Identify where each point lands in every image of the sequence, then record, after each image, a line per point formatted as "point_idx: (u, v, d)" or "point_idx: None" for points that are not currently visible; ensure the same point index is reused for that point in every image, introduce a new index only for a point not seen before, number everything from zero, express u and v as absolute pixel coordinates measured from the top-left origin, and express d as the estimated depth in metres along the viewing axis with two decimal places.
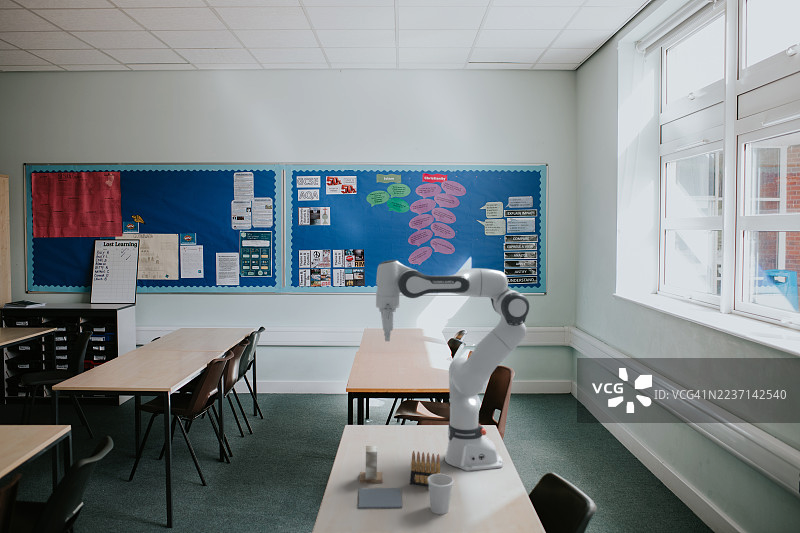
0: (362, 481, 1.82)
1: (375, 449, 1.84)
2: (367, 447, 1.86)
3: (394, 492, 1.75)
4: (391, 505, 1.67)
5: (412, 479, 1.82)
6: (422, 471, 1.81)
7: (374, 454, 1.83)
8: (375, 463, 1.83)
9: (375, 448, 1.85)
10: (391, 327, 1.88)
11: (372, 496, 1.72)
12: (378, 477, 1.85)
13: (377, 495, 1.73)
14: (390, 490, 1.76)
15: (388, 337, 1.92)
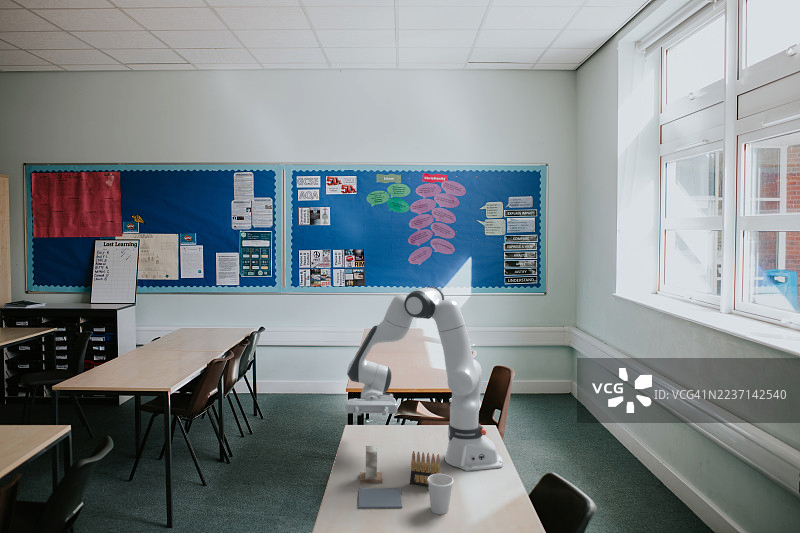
0: (362, 481, 1.82)
1: (375, 449, 1.84)
2: (367, 447, 1.86)
3: (394, 492, 1.75)
4: (391, 505, 1.67)
5: (412, 479, 1.82)
6: (422, 471, 1.81)
7: (374, 454, 1.83)
8: (375, 463, 1.83)
9: (375, 448, 1.85)
10: None
11: (372, 496, 1.72)
12: (378, 477, 1.85)
13: (377, 495, 1.73)
14: (390, 490, 1.76)
15: (357, 410, 1.98)
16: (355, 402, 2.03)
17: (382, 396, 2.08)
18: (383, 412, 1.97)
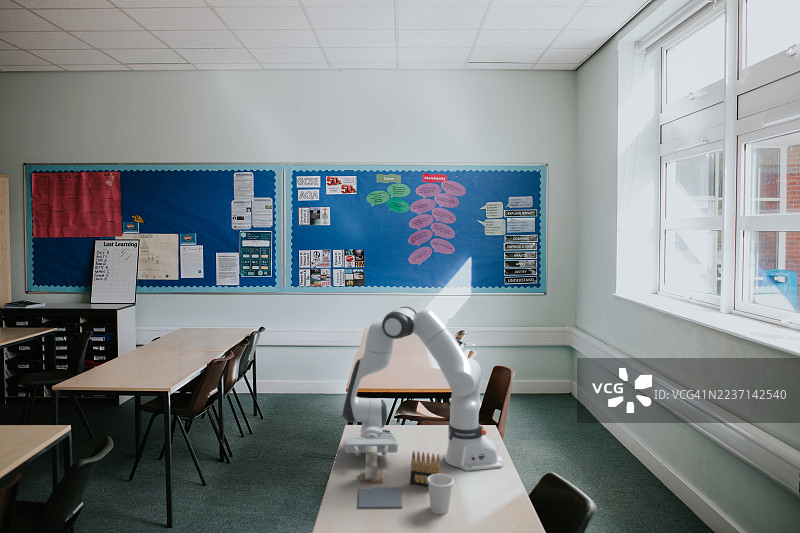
0: (362, 481, 1.82)
1: (375, 449, 1.84)
2: (367, 447, 1.86)
3: (394, 492, 1.75)
4: (391, 505, 1.67)
5: (412, 479, 1.82)
6: (422, 471, 1.81)
7: (374, 454, 1.83)
8: (375, 463, 1.83)
9: (375, 448, 1.85)
10: (345, 443, 1.97)
11: (372, 496, 1.72)
12: (378, 477, 1.85)
13: (377, 495, 1.73)
14: (390, 490, 1.76)
15: (356, 451, 1.93)
16: (354, 441, 1.98)
17: (382, 434, 2.03)
18: (383, 452, 1.92)
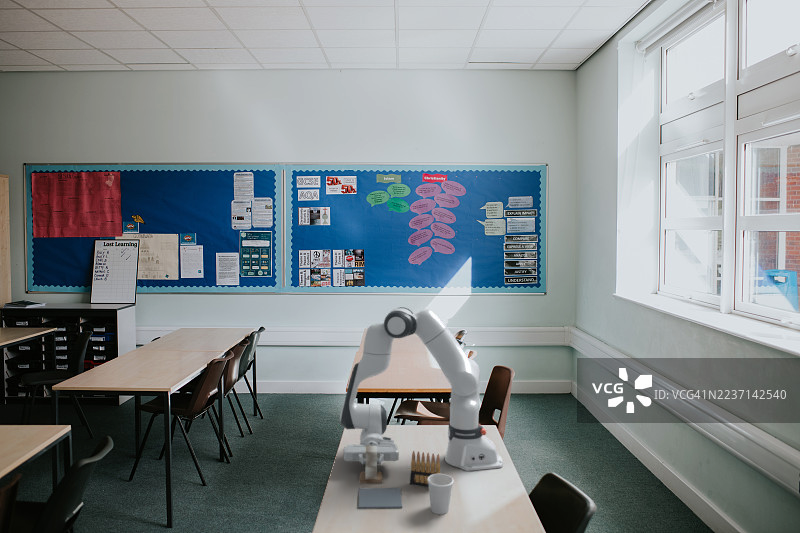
0: (362, 481, 1.82)
1: (375, 449, 1.84)
2: (367, 447, 1.86)
3: (394, 492, 1.75)
4: (391, 505, 1.67)
5: (412, 479, 1.82)
6: (422, 471, 1.81)
7: (374, 454, 1.83)
8: (375, 463, 1.83)
9: (375, 448, 1.85)
10: (344, 452, 1.90)
11: (372, 496, 1.72)
12: (378, 477, 1.85)
13: (377, 495, 1.73)
14: (390, 490, 1.76)
15: (361, 459, 1.86)
16: (354, 449, 1.91)
17: (382, 441, 1.96)
18: (378, 461, 1.85)
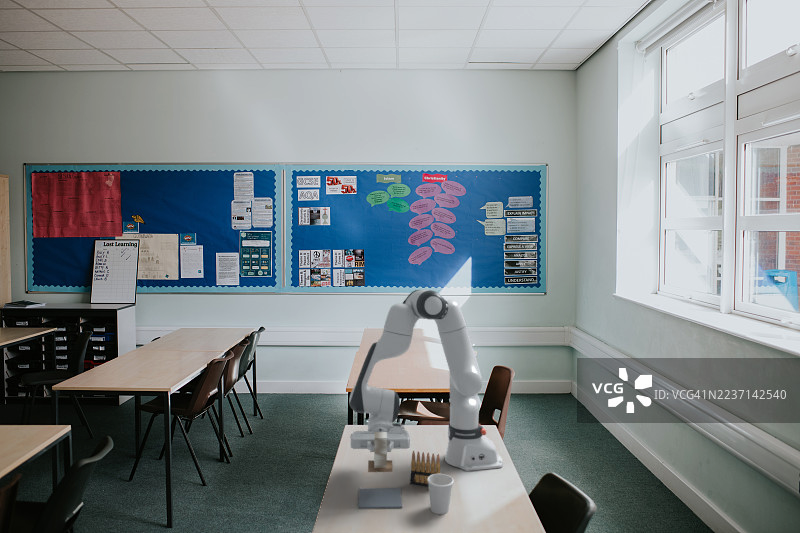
0: (371, 470, 1.68)
1: (385, 435, 1.70)
2: (376, 433, 1.72)
3: (394, 492, 1.75)
4: (391, 505, 1.67)
5: (412, 479, 1.82)
6: (422, 471, 1.81)
7: (383, 440, 1.68)
8: (385, 450, 1.69)
9: (385, 434, 1.71)
10: None
11: (372, 496, 1.72)
12: (388, 465, 1.70)
13: (377, 495, 1.73)
14: (390, 490, 1.76)
15: (370, 446, 1.72)
16: (361, 436, 1.77)
17: (392, 428, 1.82)
18: (388, 448, 1.70)
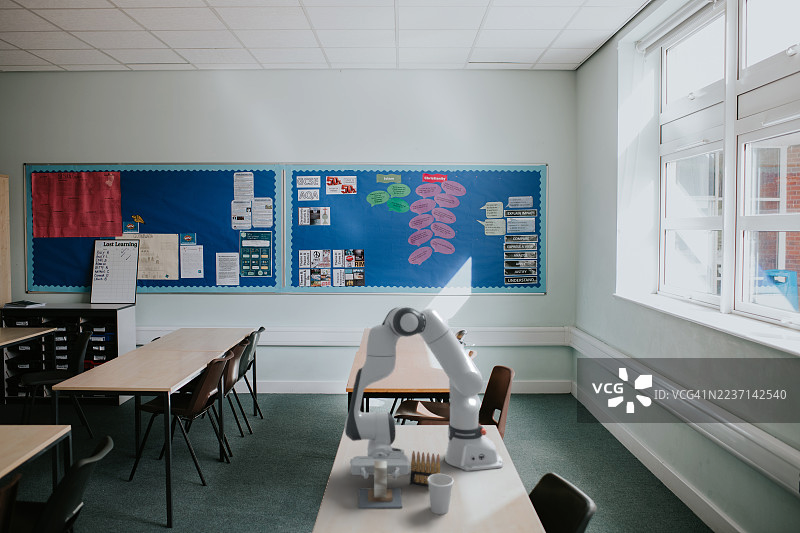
0: (371, 499, 1.69)
1: (385, 465, 1.71)
2: (376, 462, 1.72)
3: (394, 492, 1.75)
4: (391, 505, 1.67)
5: (412, 479, 1.82)
6: (422, 471, 1.81)
7: (383, 470, 1.69)
8: (385, 480, 1.69)
9: (385, 463, 1.72)
10: None
11: None
12: (388, 495, 1.71)
13: None
14: None
15: (363, 473, 1.72)
16: (361, 461, 1.77)
17: (392, 453, 1.82)
18: (394, 475, 1.71)
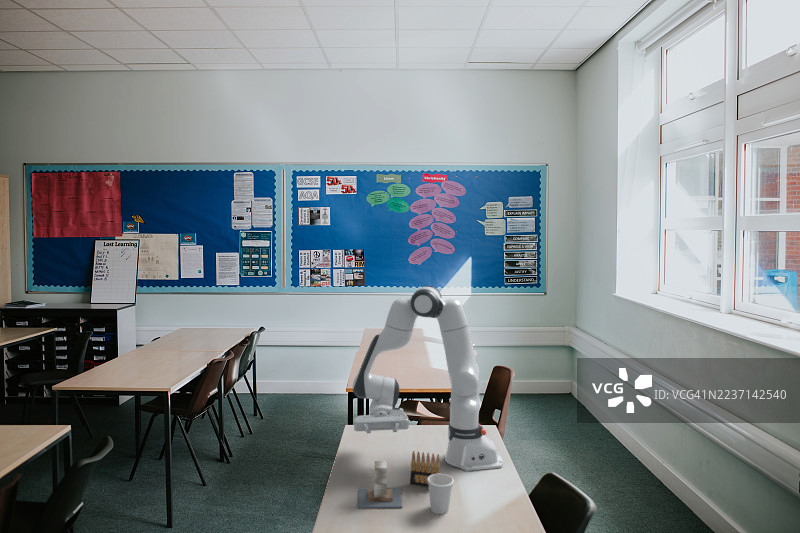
0: (371, 499, 1.69)
1: (385, 465, 1.71)
2: (376, 462, 1.72)
3: (394, 492, 1.75)
4: (391, 505, 1.67)
5: (412, 479, 1.82)
6: (422, 471, 1.81)
7: (383, 470, 1.69)
8: (385, 480, 1.69)
9: (385, 463, 1.72)
10: (354, 422, 1.90)
11: None
12: (388, 495, 1.71)
13: None
14: None
15: (366, 428, 1.86)
16: (364, 419, 1.92)
17: (392, 411, 1.97)
18: (394, 429, 1.85)
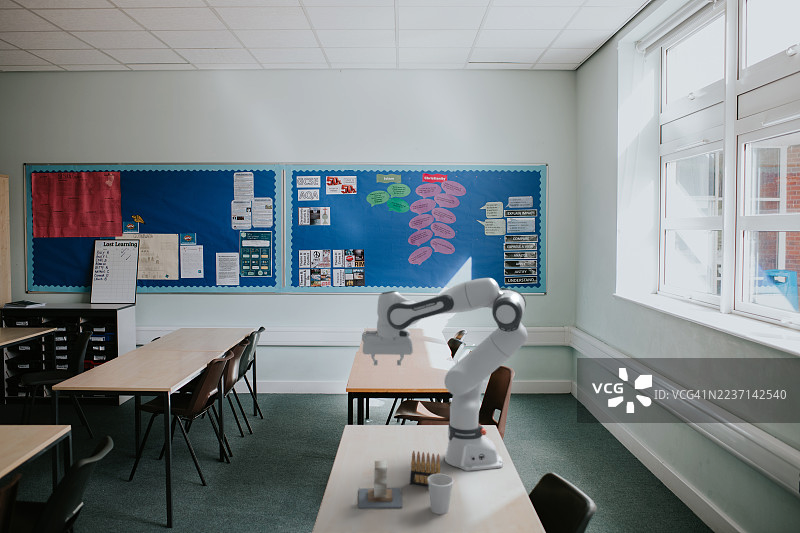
0: (371, 499, 1.69)
1: (385, 465, 1.71)
2: (376, 462, 1.72)
3: (394, 492, 1.75)
4: (391, 505, 1.67)
5: (412, 479, 1.82)
6: (422, 471, 1.81)
7: (383, 470, 1.69)
8: (385, 480, 1.69)
9: (385, 463, 1.72)
10: None
11: None
12: (388, 495, 1.71)
13: None
14: None
15: None
16: (371, 348, 2.06)
17: (399, 338, 2.05)
18: None
